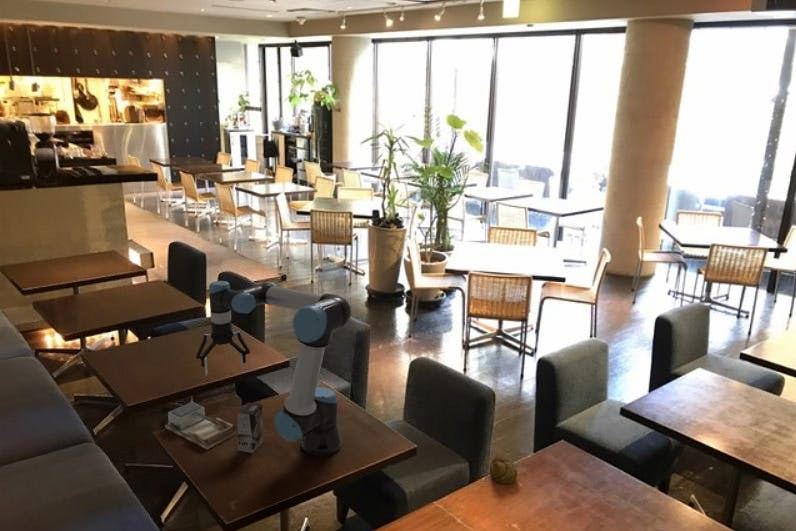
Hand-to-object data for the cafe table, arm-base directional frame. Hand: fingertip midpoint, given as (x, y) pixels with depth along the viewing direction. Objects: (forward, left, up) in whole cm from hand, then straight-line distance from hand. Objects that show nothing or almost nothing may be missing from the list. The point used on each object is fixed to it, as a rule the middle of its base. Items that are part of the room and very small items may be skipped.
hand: (224, 372), depth 239 cm
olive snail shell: (-103, -40, -25) cm, 113 cm away
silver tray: (+7, +7, -25) cm, 27 cm away
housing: (+16, +7, -23) cm, 29 cm away
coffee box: (-17, +2, -25) cm, 30 cm away
